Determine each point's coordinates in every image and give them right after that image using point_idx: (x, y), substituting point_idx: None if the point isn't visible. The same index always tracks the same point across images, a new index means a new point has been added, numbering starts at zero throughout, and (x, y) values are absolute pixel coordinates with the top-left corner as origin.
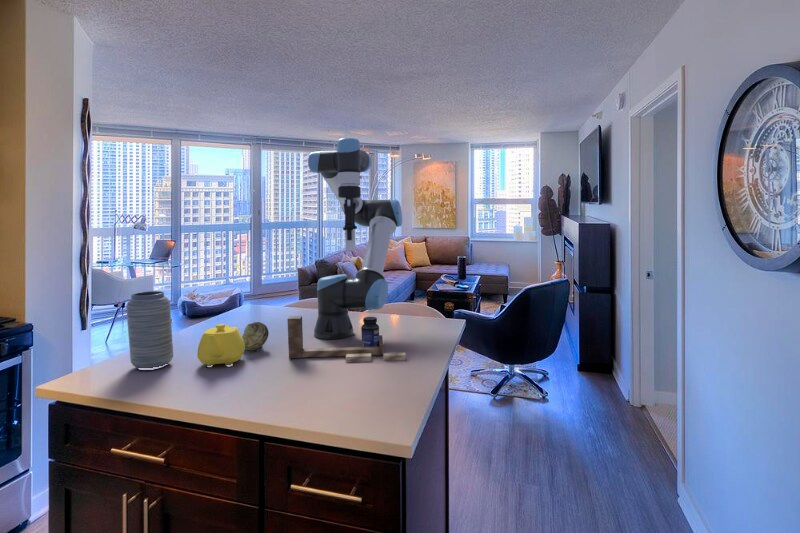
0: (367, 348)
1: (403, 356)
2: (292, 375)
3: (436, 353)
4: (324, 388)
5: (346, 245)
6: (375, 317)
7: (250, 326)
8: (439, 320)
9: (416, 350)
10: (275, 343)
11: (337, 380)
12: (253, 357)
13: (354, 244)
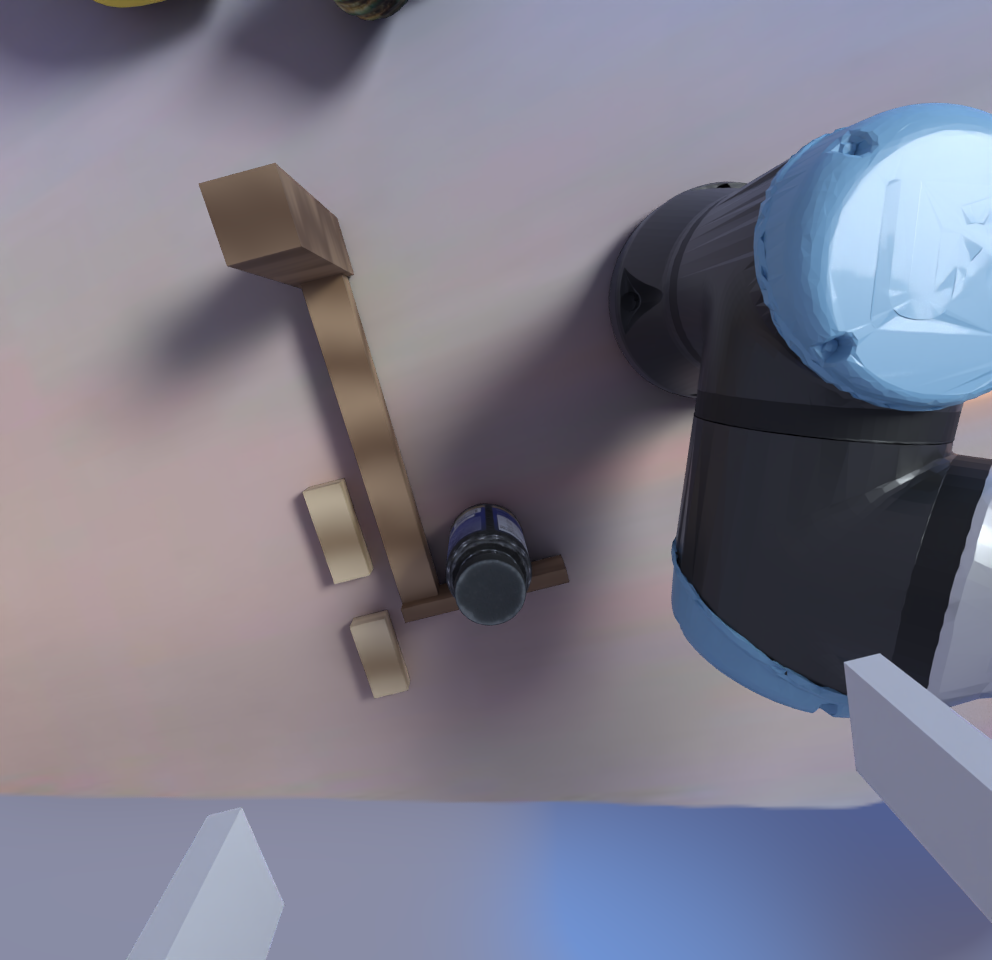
0: (401, 555)
1: (372, 688)
2: (107, 337)
3: (474, 770)
4: (32, 500)
5: (174, 899)
6: (509, 615)
7: None
8: (980, 726)
9: (499, 703)
10: (510, 35)
11: (113, 518)
12: (268, 36)
13: (891, 798)
